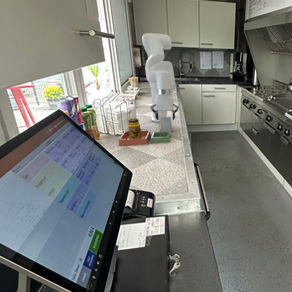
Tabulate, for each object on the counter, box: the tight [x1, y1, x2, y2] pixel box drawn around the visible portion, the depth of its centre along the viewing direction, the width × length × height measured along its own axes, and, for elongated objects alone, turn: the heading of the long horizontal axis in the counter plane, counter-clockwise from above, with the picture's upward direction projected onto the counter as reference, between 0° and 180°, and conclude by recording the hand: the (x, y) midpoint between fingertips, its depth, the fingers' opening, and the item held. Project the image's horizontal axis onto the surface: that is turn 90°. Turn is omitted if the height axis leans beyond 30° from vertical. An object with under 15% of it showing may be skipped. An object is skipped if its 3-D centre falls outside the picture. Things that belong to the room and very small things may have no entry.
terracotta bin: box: [118, 129, 152, 146], centre depth 136 cm, size 16×14×4 cm
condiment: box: [127, 118, 144, 139], centre depth 135 cm, size 7×8×12 cm
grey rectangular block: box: [159, 116, 173, 133], centre depth 151 cm, size 4×7×10 cm, turn 113°
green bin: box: [150, 131, 171, 144], centre depth 138 cm, size 11×9×4 cm
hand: (165, 119), depth 149 cm, fingers open, 9 cm apart
